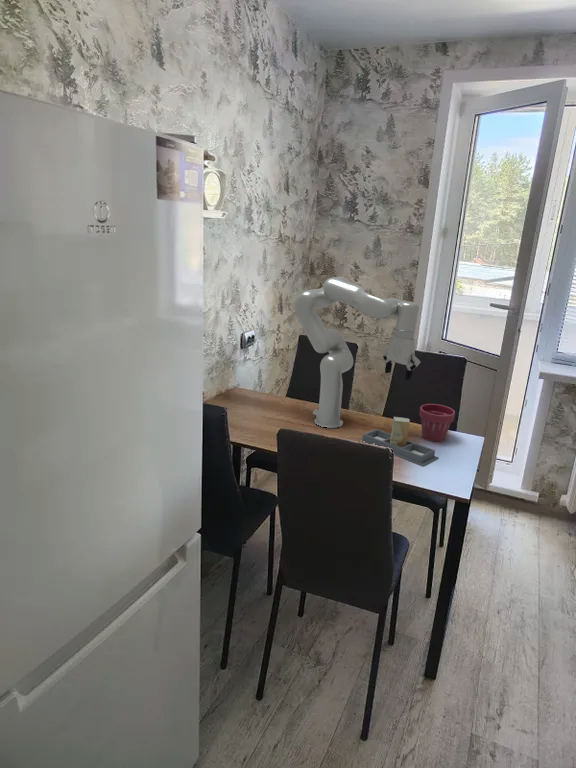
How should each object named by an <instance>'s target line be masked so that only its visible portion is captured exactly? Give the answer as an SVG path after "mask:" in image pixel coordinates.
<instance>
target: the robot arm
mask: <svg viewBox="0 0 576 768" xmlns="http://www.w3.org/2000/svg"><path fill="white" fill-rule="evenodd" d="M337 302H340V303H343V304H346V305H348V306H350V307H353V308H354V309H356V310H358V311H359V312H360V313H361V314H362V313H363V314H365V315H367V316H369V317H372V318H374V319H375V318H376V319H379V320H388V319H390V318H396V322H395V328H393V329H392V331H393V332H394V334H393V335H392V336H391V338H390V341H389V344H388V349H384V350H382V356H383V360H384V363H385V368H384V374H390V373H391V372H392V369H393V368H392V367H393V362H394V363H397V364H400V365H403V366H406V368H407V369H406V371H405V376H404V380H405V381H409V380H411V379H412V376H413V371H414V370H415V369H417V368H418V367H419V365H420V364H421V360H420V359H419V358H418V357H417V356H416V355H415V354H416V353H415V351H416V338H415V335H416V327H417V321H418V317H419V310H420V306H419V304H418V303H417V302H414V301H407V300H406V301H405V300H401V299H399V298H396V297H389V298H379V297H377V296H373V295H372V294H368V293H367V292H365V288H364V287H363V286H361V285H359V284H355V283H353V282H351V281H350V279H348V278H347V277H345V276H332V277H329V278H327V279H326V280H325V281H324V283H323V285H322V287H320V288H314V289H307V290H303V291H302V292H301V293H299V294H298V296H297V297H296V299H295V303H294V312H295V315H296V318H297V319H298V321H299V322H300V325H301V327H302V328H303V330H304V332H305V335H306V336H307V339H308V340H309V342H310V344H311V346H312V347H313V349H314V351H315V352H316V353H319V354H324V353H328V354H327V355H324V356H323V358H322V359H321V361H320V365H319V369H320V371H319V372H320V389H319V390H320V391H319V402H318V403H319V404H318V409H317V408H314V411H312V415H313V416H316V418H315V419H314V422H315V423H314V424H315V425H316V424H317V425H316V426H318V425H319V426H318V427H320V426H321V428H323V427H327V428H326V429H338V428H337V427H339V428H341V427H342V426H344V422H343V421H344V420H342V419H341V412H342V401H343V400H342V399H343V398H342V397H343V387H344V383H343V381H344V380H343V377H342V374H344V373H345V372H347V371H349V370H350V369H352V367H353V365H354V358H353V354H352V352H351V350H350V349H349V348H350V347H349V346H348V345H347V343H346V340H345V339H344V337H343V335H342V333H340V332H339V331H338V330H337V329H335V328H327V327H326V326H325V324H324V322H323V320H322V318H321V317H320V316H319V315H318V314H317V313H316V312H315V310H319V309H324V308H327V307H329V306H332V304H335V303H337Z"/></svg>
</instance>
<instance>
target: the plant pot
mask: <svg viewBox="0 0 576 768" xmlns="http://www.w3.org/2000/svg"><path fill="white" fill-rule="evenodd" d="M455 416H456V411H455V409H453V408H451V407H450V406H446V405H443V404H438V403H425V404H422V405H421V406H420V408H419V417H420V418H421V419H420V420H421V421H420V422H421V423H420V424H421V433H422V438H424V440H427V441H431V442H435V443H436V442H437V443H438V442H444V441H445V439H446V437H447V434H448V432H449V430H450V428H451V424H452V423H453V422H454V420H455Z"/></svg>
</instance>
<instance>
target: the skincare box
mask: <svg viewBox="0 0 576 768" xmlns="http://www.w3.org/2000/svg"><path fill="white" fill-rule="evenodd" d="M392 419H393V420H392V427H391V433H390V434H391V439H390V444H392V445H395V446H397V447H400V448H402V447H404V446H406V443H407V440H408V436H409V429H410V424H411V419H410V418H406V417H398V416H393V418H392Z"/></svg>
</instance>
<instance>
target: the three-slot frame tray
mask: <svg viewBox="0 0 576 768" xmlns="http://www.w3.org/2000/svg"><path fill="white" fill-rule="evenodd" d="M390 439H391V433H389V432H385V431H383V430H380V429H378V428H376V429H373V430H370V431H368V432H366V433H363V434H362V438H359V439H358V441H359V440H362V442H363V441H365V443H368V444H373V443H375V445H378V446H384V447H389V448H392V449H393V451H394V454H395V455H394V456H395V457H398V458H400V459H403V460H406V461H408V462H411V463H412V464H416V465H418V466H420V467H425V466H428V465H429V464H431V463H433V462H435V461H437V460H439V457H438V456H436V455H435V454H436V450H435V449H432V448H429V447H427V446H425V445H421V444H419V443H416V442H414V441H411V440H408V439H407V443H406V446H404V447H402V448H400V447H397V446H395V445H392V444H390ZM362 442H361V443H362ZM365 443H364V444H365Z"/></svg>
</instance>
